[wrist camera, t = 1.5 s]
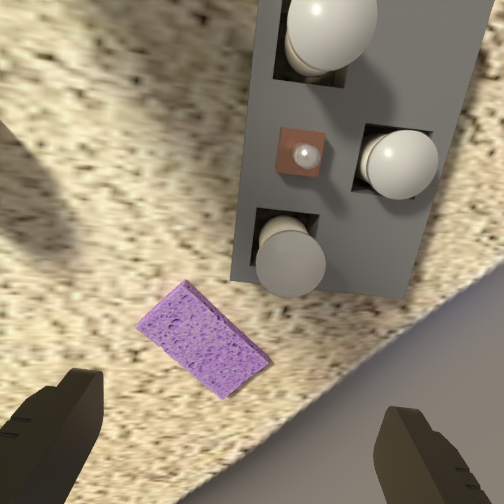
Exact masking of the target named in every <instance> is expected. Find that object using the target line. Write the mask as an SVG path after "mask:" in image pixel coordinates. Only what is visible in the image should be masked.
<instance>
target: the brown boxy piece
mask: <svg viewBox="0 0 504 504" xmlns="http://www.w3.org/2000/svg"><path fill="white" fill-rule="evenodd" d="M325 136H326V133H323V132H315V131H307V130H299V129H291V128H283V127H281V128H280V135H279V143H278V150H277V157H276V165H275V171H276V172H278V173H286V174H295V175H303V176H312V177H318V174H319V169H320V163H321V158H322V152H323V147H324V141H325Z"/></svg>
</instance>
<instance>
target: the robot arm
mask: <svg viewBox="0 0 504 504" xmlns="http://www.w3.org/2000/svg"><path fill="white" fill-rule="evenodd" d="M103 416H104V388H103V373H102V371H96V370H87V369H79V368H72V369H71V370H70V371H69V372H68V373H67V374H66V375H65V377H64V378H63V379H62V381H61V382H60V383H59V384H58V386H57V387H53V386H45V387H44V388H42V389H41V390H39V391H38V392H36V393H35V394H33V395H32V396H30V397H29V398H27V399H26V400H25V401H24V402H23V403H22V404H21V406H20V407H19V408H18V409H17V410H16V411H15V413H14V414H13V415H12V416H11V419H10V420H9V421H7V422H6V423H5V424H4V425H3V427H2V428H1V429H0V504H64V503H65V501H66V499H67V497H68V495H69V493H70V491H71V489H72V487H73V485H74V483H75V481H76V479H77V477H78V475H79V474H80V472H81V470H82V468H83V466H84V464H85V462H86V460H87V458H88V456H89V454H90V452H91V450H92V448H93V446H94V444H95V442H96V440H97V438H98V436H99V433H100V430H101V427H102V422H103ZM373 458H374V466H375V470H376V474H377V476H378V479H379V482H380V485H381V487H382V490H383V493H384V496H385V499H386V501H387V504H492V503H491V502H490V500H489V499H488V497H487V496H486V494H485V493H484V491H483V490H481V489H480V485H479V483H478V482H477V480H476V478H475V477H474V475H473V474H472V473H470V471H469V468H468V466H467V464H466V463H465V461H464V460H463V458H462V457H461V455H460V454H459V452H458V450H457V449H456V448H455V447H454V446H453V445H452V444H451V443H450V442H449V441H448V440H447V439H446V438H445V437H444V436H443V435H442V434H441V433H439V432H435V431H433V430H432V429H431V427H430V425H429V424H428V422H427V421H426V419H425V417H424V415H423V414H422V413H421V411H419V410H418V409H411V408H403V407H394V406H390V407H389V408H388V409H387V411H386V413H385V417H384V419H383V422H382V425H381V428H380V431H379V434H378V437H377V440H376V443H375V446H374V454H373Z"/></svg>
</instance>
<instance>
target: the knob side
mask: <svg viewBox="0 0 504 504" xmlns="http://www.w3.org/2000/svg"><path fill="white" fill-rule="evenodd" d="M437 167H438V153H437V149H436V147H435V145H434V143H433V142H432V140H431V139H430V138H429V137H428V136H426V135H425V134H423V133H421V132H418V131H413V130H399V131H395V132H392V133H389V134H384V133H374V134H370V135H368V136H366V137H364V138H363V139H362V142H361V147H360V151H359V156H358V161H357V165H356V170H355V174H356V176H357V177H358V178H360V179H361V180H363V181H365V182H367V183H369V184H370V185H371V186H372V187H373V189H374V190H376V191H377V192H378V193H380V194H381V195H383V196H385V197H387V198H390V199H396V200H401V199H408V198H411V197H413V196H415V195H417V194H419V193H420V192H422V191H423V190H424V189H425V188H426V187H427V186H428V185H429V184H430V183H431V181H432V179H433V178H434V176H435V173H436V171H437Z"/></svg>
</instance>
